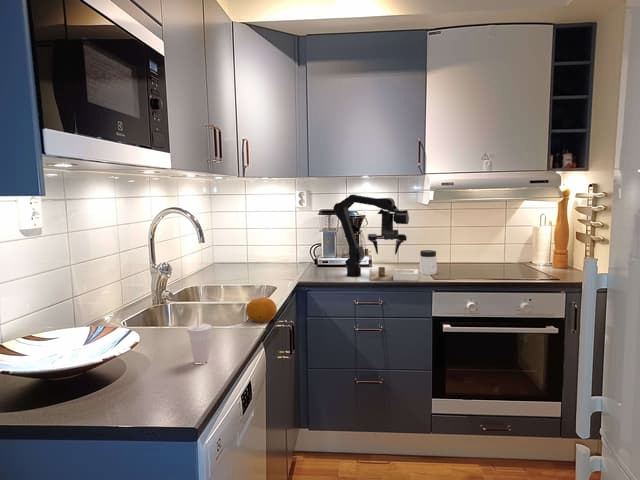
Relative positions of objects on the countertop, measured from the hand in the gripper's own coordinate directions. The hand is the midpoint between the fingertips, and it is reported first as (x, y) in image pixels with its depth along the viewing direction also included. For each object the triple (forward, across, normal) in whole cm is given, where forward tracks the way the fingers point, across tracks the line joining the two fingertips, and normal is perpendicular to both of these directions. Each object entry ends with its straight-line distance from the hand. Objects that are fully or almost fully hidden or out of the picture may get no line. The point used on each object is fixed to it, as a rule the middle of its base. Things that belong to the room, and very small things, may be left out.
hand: (386, 254), depth 228 cm
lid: (+12, -2, -1) cm, 12 cm away
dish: (+12, +10, -2) cm, 16 cm away
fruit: (+13, -54, -70) cm, 89 cm away
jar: (+12, +24, +12) cm, 30 cm away
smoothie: (+13, -65, -108) cm, 127 cm away
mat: (+12, -2, -1) cm, 13 cm away
